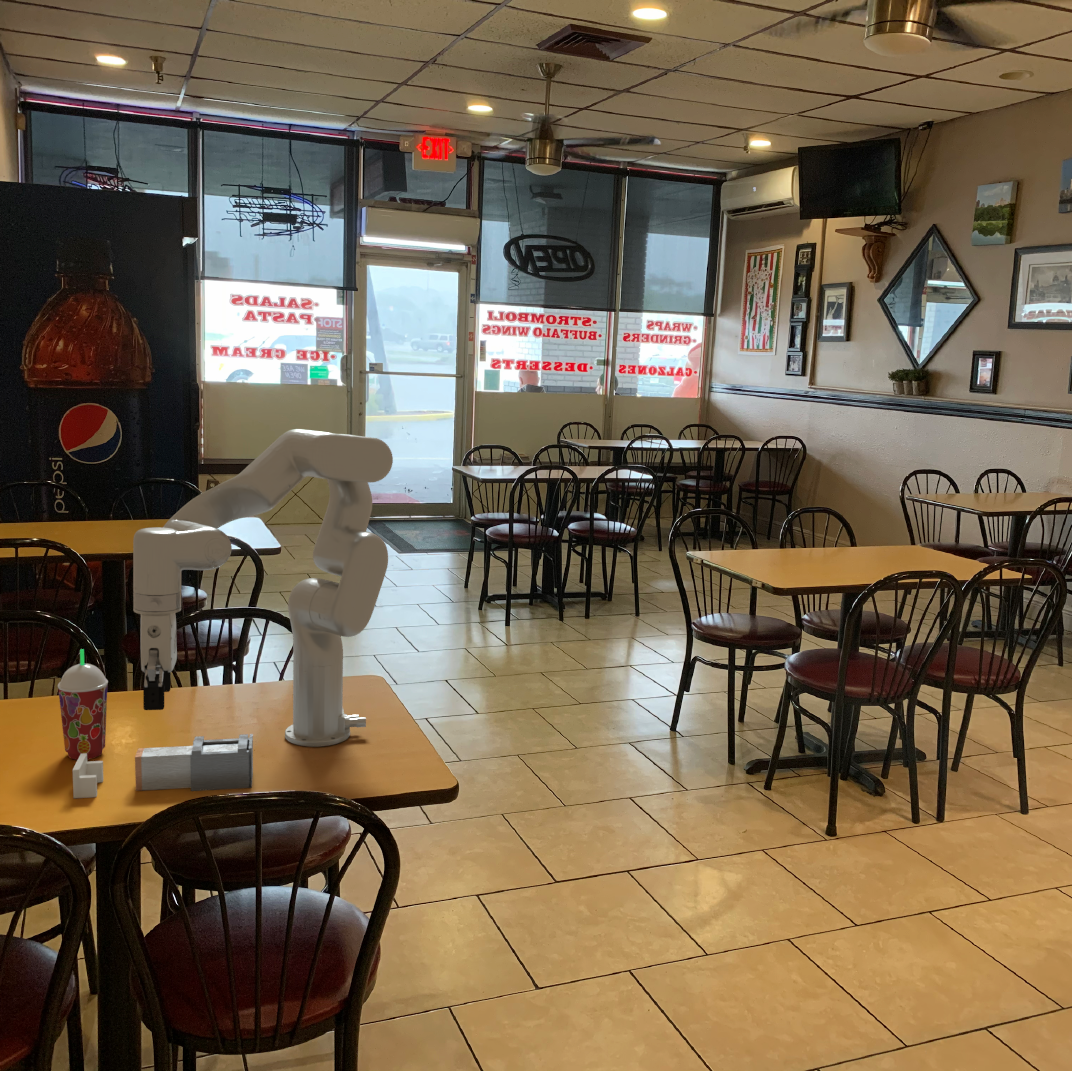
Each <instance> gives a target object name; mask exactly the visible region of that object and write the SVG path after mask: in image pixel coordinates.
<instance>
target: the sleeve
mask: <svg viewBox="0 0 1072 1071" xmlns="http://www.w3.org/2000/svg"><path fill="white" fill-rule="evenodd" d="M253 737H254V734H253V733H250V734H248V733H243V734H238V737H237V738H219V739H217V738H216V739H215V738H214V739H205V736H204V735H203V736H194V739H193V741H192V746H193V748H192V753H191V754H190V770H191V788H190V792H194V791H195V792H199V791H200V792H201V791H216V790H218V791H219V790H232V789H233V790H235V789H236V790H237V789H252V787H253V775H254V773H253V772H254V751H253V750H254V741H253V740H254V738H253ZM221 744H238V750H237V751H217V752H202V747H203V745H221Z"/></svg>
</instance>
